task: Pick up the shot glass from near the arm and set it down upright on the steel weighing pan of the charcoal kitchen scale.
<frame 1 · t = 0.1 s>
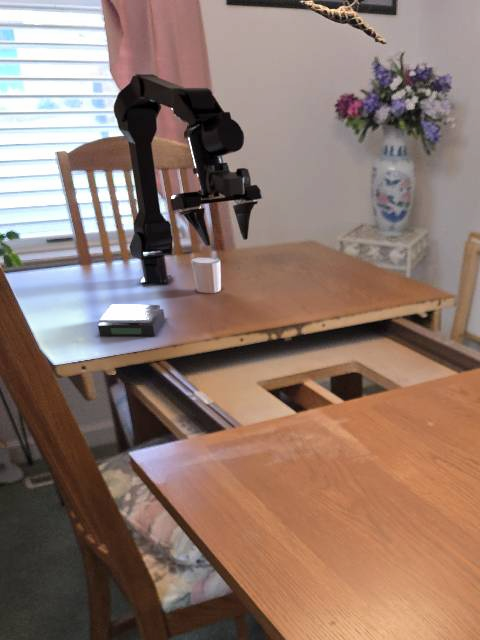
hand: (227, 242, 150), 15 cm above the table, tool pointing down, fingers open, 9 cm apart
scale: (133, 327, 150), on the table
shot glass: (209, 290, 174), on the table
scale pan: (130, 313, 148), point 3 cm above the table, slide at 0.0 cm
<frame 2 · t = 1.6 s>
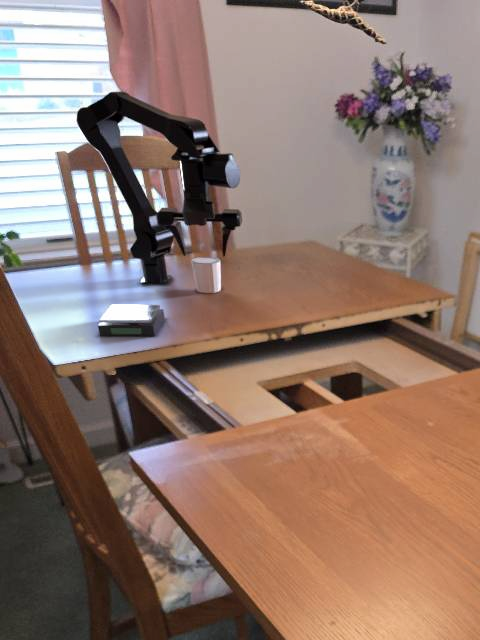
hand: (204, 255, 169), 8 cm above the table, tool pointing down, fingers open, 9 cm apart
nothing on the table moved.
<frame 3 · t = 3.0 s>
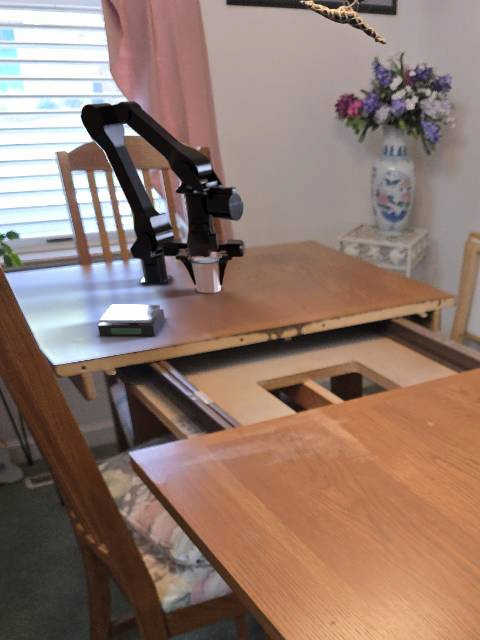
hand: (208, 284, 173), 1 cm above the table, tool pointing down, fingers closed on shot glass, 6 cm apart
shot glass: (209, 290, 174), on the table, touching gripper
everything else where it was.
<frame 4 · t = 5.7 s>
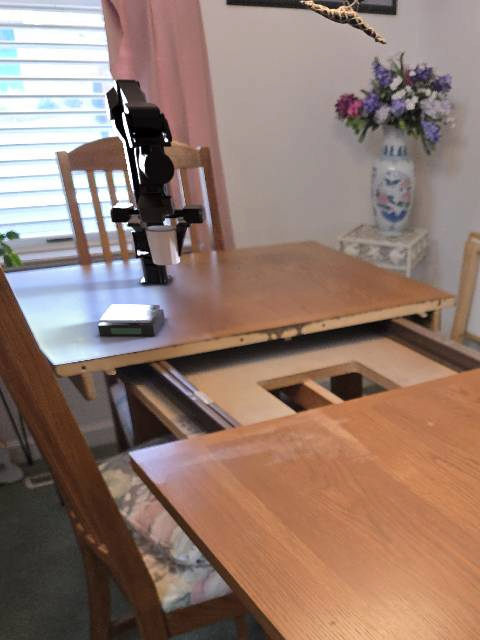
hand: (165, 256, 155), 11 cm above the table, tool pointing down, fingers closed on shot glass, 6 cm apart
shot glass: (166, 262, 155), point 10 cm above the table, touching gripper
everything else where it was.
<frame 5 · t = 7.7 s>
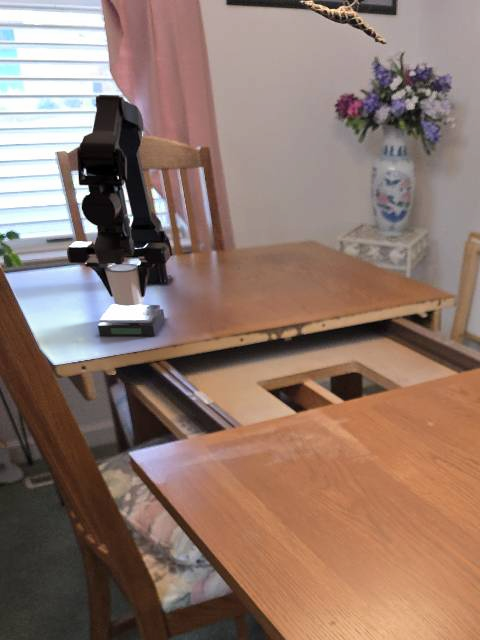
hand: (127, 296, 146), 6 cm above the table, tool pointing down, fingers closed on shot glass, 6 cm apart
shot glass: (129, 303, 147), point 5 cm above the table, touching gripper
everything else where it was.
when the fingers open (4 cm above the table, at t = 8.8 s): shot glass stays where it is, resting on scale pan.
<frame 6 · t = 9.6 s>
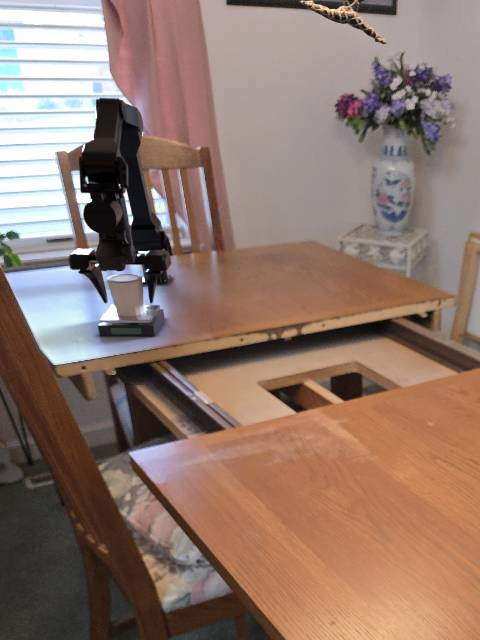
hand: (128, 302, 147), 5 cm above the table, tool pointing down, fingers open, 9 cm apart
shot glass: (131, 313, 148), point 3 cm above the table, touching scale pan
scale pan: (130, 313, 148), point 3 cm above the table, slide at 0.0 cm, touching scale, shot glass
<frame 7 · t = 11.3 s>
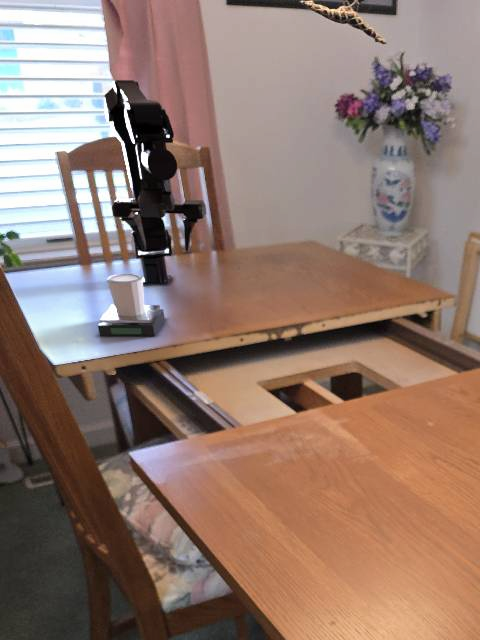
hand: (166, 250, 157), 12 cm above the table, tool pointing down, fingers open, 9 cm apart
nothing on the table moved.
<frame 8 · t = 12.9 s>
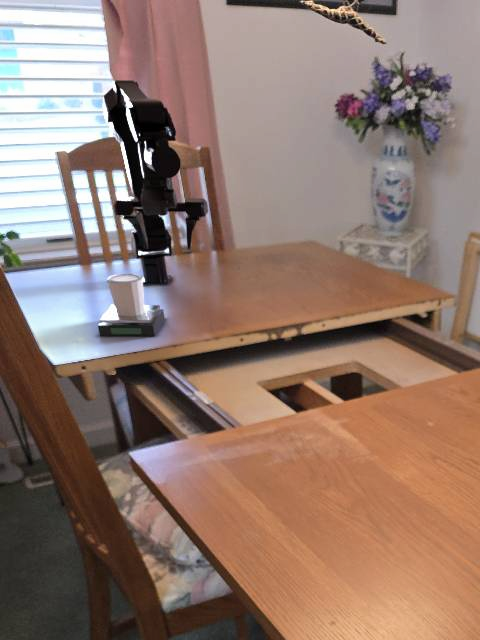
hand: (168, 248, 157), 12 cm above the table, tool pointing down, fingers open, 9 cm apart
nothing on the table moved.
at the end: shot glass 0.1 cm off-centre on the scale, point 3.0 cm above the scale's base; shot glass tilted 0°; the gripper is holding nothing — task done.
